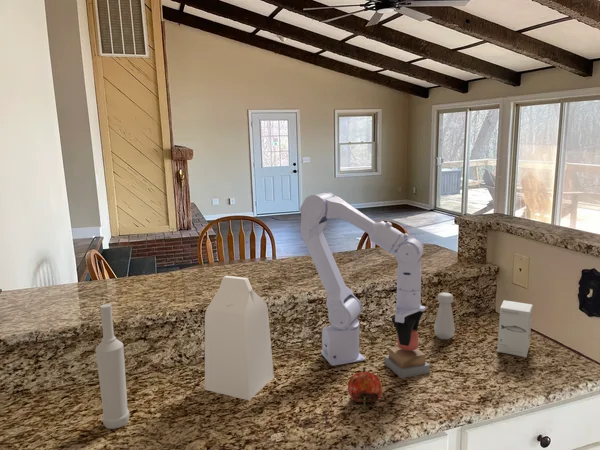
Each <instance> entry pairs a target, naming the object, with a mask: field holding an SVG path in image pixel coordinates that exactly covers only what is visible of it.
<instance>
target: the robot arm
mask: <svg viewBox="0 0 600 450" xmlns="http://www.w3.org/2000/svg"><path fill="white" fill-rule="evenodd" d="M299 212H300V214H301V215H300V217H301V218H300V234H301V237H302V238H303V241H304V243H305V245H306V248H307V250H308V253H309V255H310V258H311V260H312V263H313V264H314V267H315V270H316V272H317V274H318V276H319V278H320V281H321V284H322V285H323V286H322V287H323V288H324V290H325V292H326V302H325V303H326V304H325V305H326V307H327V308H326V309H327V313H328V315H327V316H328V322H329V323H330V325H328V326H326V327H323V328H322V330H321V349H322V350H321V352H320V354H321V355H322V356H323V357H324V359H325V360H326V361H327V362H328V363H329V364H330V366H333V367H334V366H340V365H341V366H342V365H345V364H346V365H347V364H350V363H357V362H363V361H365V360H366V357H364V355H362V353H360V322H359V317H358V316H360V314H361V313H362V308H363V307H362V303H361V300H360V299H358V297H356V296H355V295H354V292H353V290H352V289H351V288H350V287H348V286H347V285H346V282H345V281H344V279H343V276H342V274H341V271H340V270H339V267H338V264H337V263H336V262H337V261H336V260H335V257H334V256H333V253H332V251H331V248H330V246H329V244H328V240H327V239H326V236H325V235H324V232H323V231H324V228H325V226H326V224H327V223H328V222H327V221H328V220H329V219H342V220H344V221H346V222H347V223H348V224H351V225H353V226H354V227H355V228H358V229H360V230H361V231H363V232H365V233H367V234H368V238H369V240H370V242H371V243H373V244H375V245H376V246H378V247H380V248H381V249H382V250H385V251H386V252H388V253H389V254H390V255H393V256H394V258H395V260H396V262H397V269H396V304H395V314H394V315H392V316H391V322H392V324H393V326H394V327H395V329H396V332H397V339H398V338H399V342H400V344H401V345H406V346H408V345H409V343H410V339H411V333H412V329H414V330H416V331H418V328H419V324H420V322H421V319H422V317H423V314H424V313H425V310H426V306H424V305H422V303H421V301H422V299H421V297H422V293H421V292H422V259H421V257H422V256H423V254H424V244H423V243H422V242H421V241H420V240H419V239H418V238H417V237H416V236H410V235H409V234H408V233H406V232H405V233H403V232H401V231H400V230H398V229H397V228H395V227H393V223H392V222H390V221H387V222H385V221H383V220H381V221H377V222H376V221H374V220H373V219H371V218H370V217H368V216H367V215H366V214H364V213H362V212H361V211H360V210H359V209H357V208H355V207H354V206H352V205H351V204H350V203H348V202H347V201H345V200H344V199H342V197H339V196H337V195H334V194H333V193H332V192H329V191H323V192H320V193H317V194H310V195H308V196H307V197H305V198H304V200H303V202H302V204H301V205H300V207H299Z"/></svg>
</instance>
